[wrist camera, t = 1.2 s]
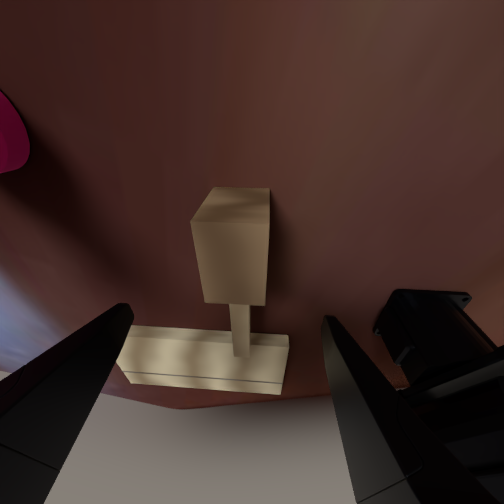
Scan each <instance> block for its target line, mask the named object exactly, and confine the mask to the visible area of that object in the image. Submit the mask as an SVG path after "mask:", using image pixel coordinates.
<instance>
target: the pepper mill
mask: <svg viewBox="0 0 504 504" xmlns="http://www.w3.org/2000/svg"><path fill="white" fill-rule="evenodd" d="M29 154H30V142H29V138H28V135H27V131H26V128H25V126H24V124H23V122H22V120H21V118H20V116H19V114H18V113H17V111H16V110H15V108H14V107H13V106H12V104H11V103H10V101H9V100H8V99H7V98H6V97H5V96H4V94H3V93H2V92H1V91H0V173H4V172H8V171H12V170H16V169H19V168H20V167H22V166H23V165H24V164H25V163H26V162H27V160H28V157H29Z"/></svg>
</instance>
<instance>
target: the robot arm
mask: <svg viewBox="0 0 504 504" xmlns="http://www.w3.org/2000/svg"><path fill="white" fill-rule="evenodd" d="M471 299H472V297H471V296H470V295H469V294H468V293H466V292H449V291H429V290H409V289H398V290H395V291H394V292H393V294H392V296H391V297H390V299H389V301H388V303H387V305H386V307H385V308H384V310H383V312H382V314H381V316H380V318H379V320H378V321H377V323H376V325H375V327H374V329H373V332H374V334H375V335H376V336H381V337H382V339H383V341H384V343H385V345H386V347H387V349H388V351H389V353H390V355H391V357H392V359H393V362H394V363H395V364H396V365H400V366H401V368H402V370H403V372H404V374H405V376H406V378H407V380H408V382H409V384H410V387H408V388H406V389H403V390H401V389H400V390H398V391H396V389H395V388H394V387H393V386H392V385H391V383H390V382H389V381H388V380H387V379H386V377H385V376H384V375H383V374H382V373H381V371H380V370H379V369H378V368H377V367H376V365H375V364H374V363H373V362H372V360H371V359H370V358H369V357H368V356H367V354H366V353H365V352H364V351H363V350H362V348H361V347H360V346H359V345H358V344H357V342H356V341H355V340H354V339H353V338H352V336H351V335H350V334H349V333H348V331H347V330H346V329H345V328H344V327H343V325H342V324H341V323H340V322H339V321H338V319H337V318H336V317H335V316H331V315H325V316H324V319H323V322H322V325H321V337H322V345H323V354H324V362H325V368H326V373H327V378H328V382H329V386H330V391H331V395H332V399H333V404H334V407H335V412H336V417H337V421H338V425H339V430H340V434H341V438H342V442H343V447H344V452H345V456H346V460H347V465H348V469H349V473H350V478H351V482H352V486H353V491H354V495H355V500H356V503H357V504H504V345H502V346H500V347H497V346H496V345H495V344H494V343H493V342H492V341H491V339H490V338H489V337H488V336H487V335H486V334H485V333H484V332H483V331H482V330H481V329H480V328H479V327H478V326H477V325H476V324H475V322H474V321H473V320H472V319H471V318H470V317H469V316H468V315H467V314H466V313H465V312H464V311H463V309H464V308H465V307H466V305H467V304H468V303H469V302H470V301H471ZM133 320H134V314H133V311H132V309H131V307H130V305H129V304H127V303H118V304H116V305H115V306H113V307H112V308H110V309H109V310H107V311H106V312H104V313H103V314H101V315H100V316H98V317H97V318H95V319H94V320H92V321H91V322H89V323H88V324H86V325H85V326H83V327H82V328H80V329H78V330H77V331H75V332H74V333H72V334H71V335H69V336H68V337H66V338H65V339H63V340H62V341H60V342H59V343H57V344H56V345H54V346H53V347H51V348H50V349H48V350H47V351H45V352H44V353H42V354H41V355H39V356H38V357H36V358H35V359H33V360H32V361H30V362H29V363H27V364H26V365H24V366H22V367H21V368H19V369H18V370H16V371H15V372H13V373H12V374H10V375H9V376H8V377H6V378H4V379H2V380H1V381H0V504H44V502H45V500H46V498H47V496H48V494H49V492H50V490H51V488H52V486H53V484H54V482H55V480H56V478H57V476H58V474H59V472H60V470H61V468H62V466H63V464H64V462H65V460H66V458H67V456H68V455H69V453H70V451H71V449H72V447H73V445H74V443H75V441H76V439H77V437H78V435H79V433H80V431H81V429H82V427H83V425H84V423H85V421H86V419H87V417H88V415H89V413H90V411H91V409H92V407H93V406H94V403H95V402H96V400H97V398H98V396H99V394H100V392H101V390H102V388H103V386H104V384H105V382H106V380H107V378H108V376H109V374H110V372H111V370H112V368H113V366H114V364H115V362H116V360H117V359H118V357H119V354H120V352H121V350H122V348H123V346H124V343H125V340H126V338H127V335H128V333H129V330H130V328H131V325H132V323H133Z"/></svg>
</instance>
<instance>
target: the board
mask: <svg viewBox="0 0 504 504" xmlns="http://www.w3.org/2000/svg"><path fill="white" fill-rule="evenodd" d="M288 351H289V339H288V335H279V334H263V333H250V358H245V357H234V354H233V342H232V332H231V331H215V330H199V329H184V328H168V327H152V326H136V325H131V328H130V330H129V333H128V335H127V338H126V340H125V343H124V346H123V348H122V350H121V352H120V354H119V357H118V359H117V360H116V362H117V364H118V365H119V366H120V368H121V369H122V371H123V372H124V374H125V375H126V377H127V378H128V379H129V381H130V382H131V383H137V384H150V385H162V386H175V387H188V388H201V389H213V390H226V391H239V392H251V393H264V394H277V395H280V394H281V389H282V384H283V378H284V373H285V367H286V362H287V356H288Z"/></svg>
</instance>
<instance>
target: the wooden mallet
mask: <svg viewBox="0 0 504 504" xmlns="http://www.w3.org/2000/svg"><path fill="white" fill-rule="evenodd" d="M190 223H191V228H192V234H193V239H194V245H195V250H196V256H197V261H198V267H199V272H200V278H201V283H202V289H203V294H204V300H205V303H221V304H229V307H230V319H231V331H232V342H233V354H234V357H245V358H250V305H256V306H265V297H266V279H267V261H268V244H269V226H270V188H234V187H213V189H212V190H211V192H210V193H209V195H208V196H207V198H206V199H205V201H204V202H203V203H202V205H201V206H200V208H199V209H198V211H197V212H196V214H195V215H194V217H193V218H192V220H191V221H190Z"/></svg>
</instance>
